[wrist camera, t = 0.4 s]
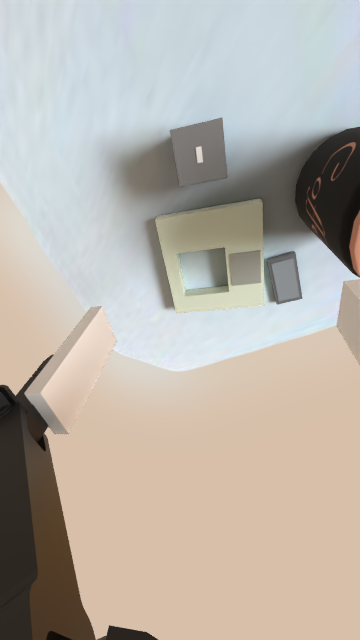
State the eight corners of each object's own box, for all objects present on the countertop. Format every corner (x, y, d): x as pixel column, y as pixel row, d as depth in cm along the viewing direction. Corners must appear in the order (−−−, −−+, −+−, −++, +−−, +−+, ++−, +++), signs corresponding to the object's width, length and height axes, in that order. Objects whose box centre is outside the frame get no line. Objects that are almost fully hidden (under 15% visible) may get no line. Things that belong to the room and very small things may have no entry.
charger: (181, 132, 30) (169, 130, 23) (222, 122, 29) (222, 117, 22) (188, 177, 32) (179, 187, 25) (226, 169, 31) (227, 178, 24)
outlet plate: (157, 215, 35) (154, 220, 33) (260, 198, 32) (262, 201, 30) (178, 306, 42) (176, 314, 41) (262, 298, 40) (264, 306, 38)
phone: (267, 259, 36) (267, 261, 35) (294, 251, 35) (295, 253, 34) (275, 301, 40) (276, 304, 39) (300, 295, 39) (302, 299, 38)
